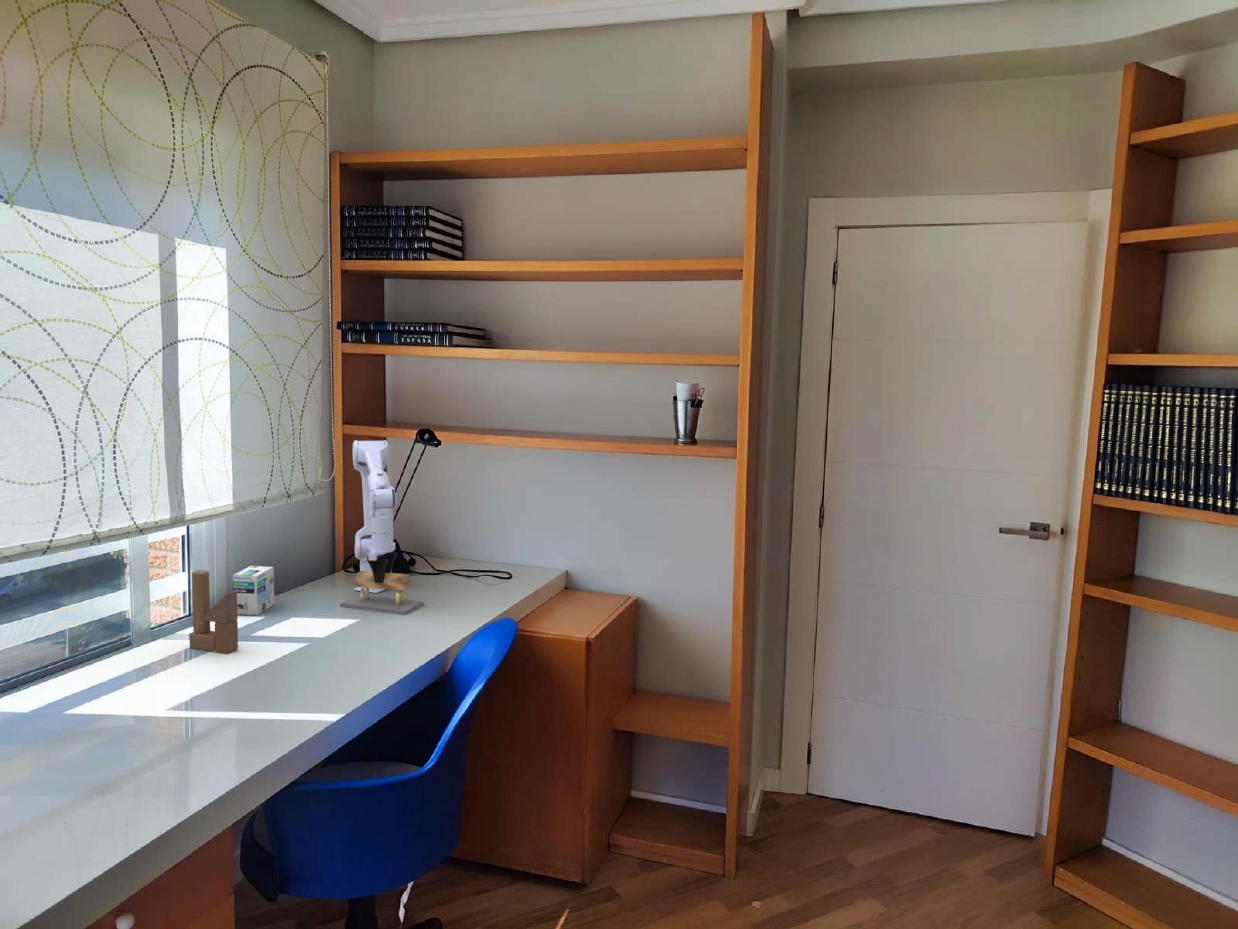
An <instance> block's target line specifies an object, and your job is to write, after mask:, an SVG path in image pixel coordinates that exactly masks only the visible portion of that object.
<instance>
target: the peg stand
mask: <svg viewBox="0 0 1238 929" xmlns="http://www.w3.org/2000/svg"><path fill="white" fill-rule="evenodd" d="M399 591H400V592H395V597H389V596H380V595H375V594H373V595H372V594H370V592H369V588H366V592H364V588H362V589H361V591H360V594H358V595H356V596H354V597H351V598H348V599H346V600H343V601H342V602H340V604H339V606H341V608H350V609H355V610H356V609H357V610H363V609H364V610H365V611H371V610H372V611H374V612H380V613H386V614H387V613H390V614H394V613H396V614H395V615H402V614H403V615H404V616H406V615H407V613H408V614H410V613H411V612H413V611H415V610H417V609H419V608H421V607H423V606H424V605H425V602H424V601H422V600H413V599H412V600H411V599H406V598H405V590H399ZM422 605H423V606H422ZM420 606H421V607H420ZM403 615H402V616H403Z"/></svg>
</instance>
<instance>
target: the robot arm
mask: <svg viewBox="0 0 1238 929" xmlns="http://www.w3.org/2000/svg"><path fill="white" fill-rule="evenodd" d="M389 447H390V446H389V442H388V441H387V440H385V439H384V440H358V439H357V440H356V439H355V440H354V441H353V443H352V463H353V469H354V470H356V471H357V472H359V473H360V477H361V486H362V505H363V507H362V509H363V527H362V528H360V529H358V531H356V533H355V536H354V556H355V558H356V559H357V560H359V572H360V571H370V572H373V576H374V580H375V583H383V581H384V576H385V573H393V572H392V571H393V570H392V569H393V566H394V562H395V560H396V558H397V556H398V552H396V551H395V550H396V542H394V509H395V508H396V505H397V504H396V503H397V502H396V491H395V488H394V487H393V486H391V482H390V478H389V474H388V473H387V472H386V471H384V470H385V469H386V467H387V464H388V460H389V457H390V456H389V454H390V448H389ZM362 588H364V593H366V588H365V587H354V588H353V590H354V591H357V592H361V589H362ZM385 590H386V589H379V588H369V593H373V594H378V593H381V592H383V591H385Z"/></svg>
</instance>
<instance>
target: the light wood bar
mask: <svg viewBox="0 0 1238 929" xmlns="http://www.w3.org/2000/svg"><path fill="white" fill-rule="evenodd" d="M410 576H411V574H408V573H396V572H392V573H385V576H384V581H383V583H375V580H374V576H373V572H370V571H360V570H359V572H357V573H355V574H354V588H357V587H365V588H379V589H385V590H393V591H406V590H407V589H409V588H410V586H411V584H410V583H411V577H410Z"/></svg>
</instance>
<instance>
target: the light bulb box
mask: <svg viewBox="0 0 1238 929" xmlns="http://www.w3.org/2000/svg"><path fill="white" fill-rule="evenodd" d="M274 572H275V569H274V566H260V565H249V566H248V567H246V568H243V569H242V570H240V571H239V572H236V573H234V574H232V589H233V590H232V592H233V591H236V590H237V615H243V616H244V615H247V616H248V615H249V616H259V615H260V614H262V613H264V612H265V611H267V610H268V609H270V608H271V607H273V606H275V577H274V576H275V574H274Z"/></svg>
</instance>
